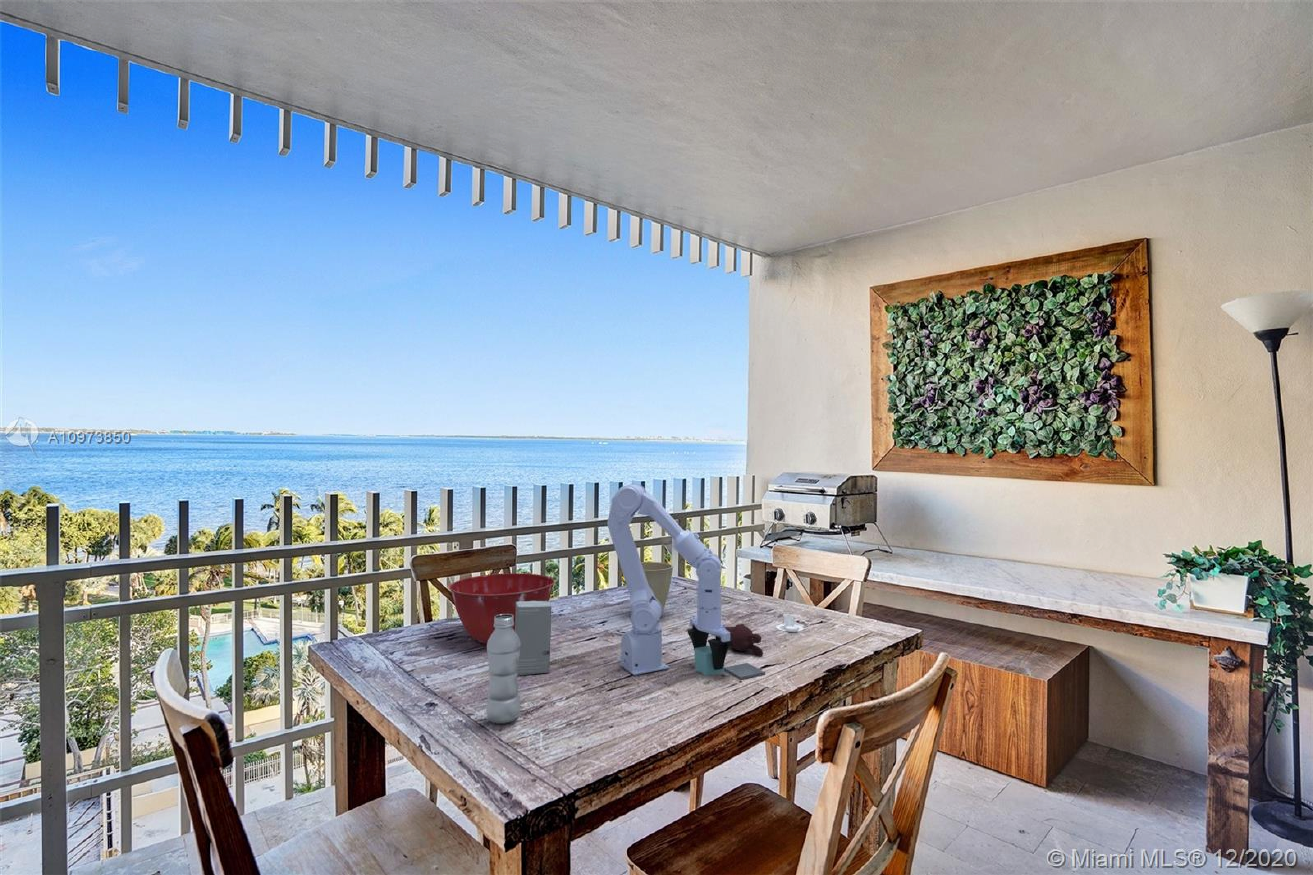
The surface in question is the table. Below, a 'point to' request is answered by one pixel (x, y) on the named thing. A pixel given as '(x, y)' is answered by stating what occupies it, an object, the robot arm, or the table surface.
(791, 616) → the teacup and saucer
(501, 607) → the mixing bowl
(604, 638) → the table surface
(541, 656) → the skincare box
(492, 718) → the plastic bottle
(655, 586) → the plant pot
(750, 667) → the slate coaster
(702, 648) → the teal cube
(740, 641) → the dark brown lumpy figure
